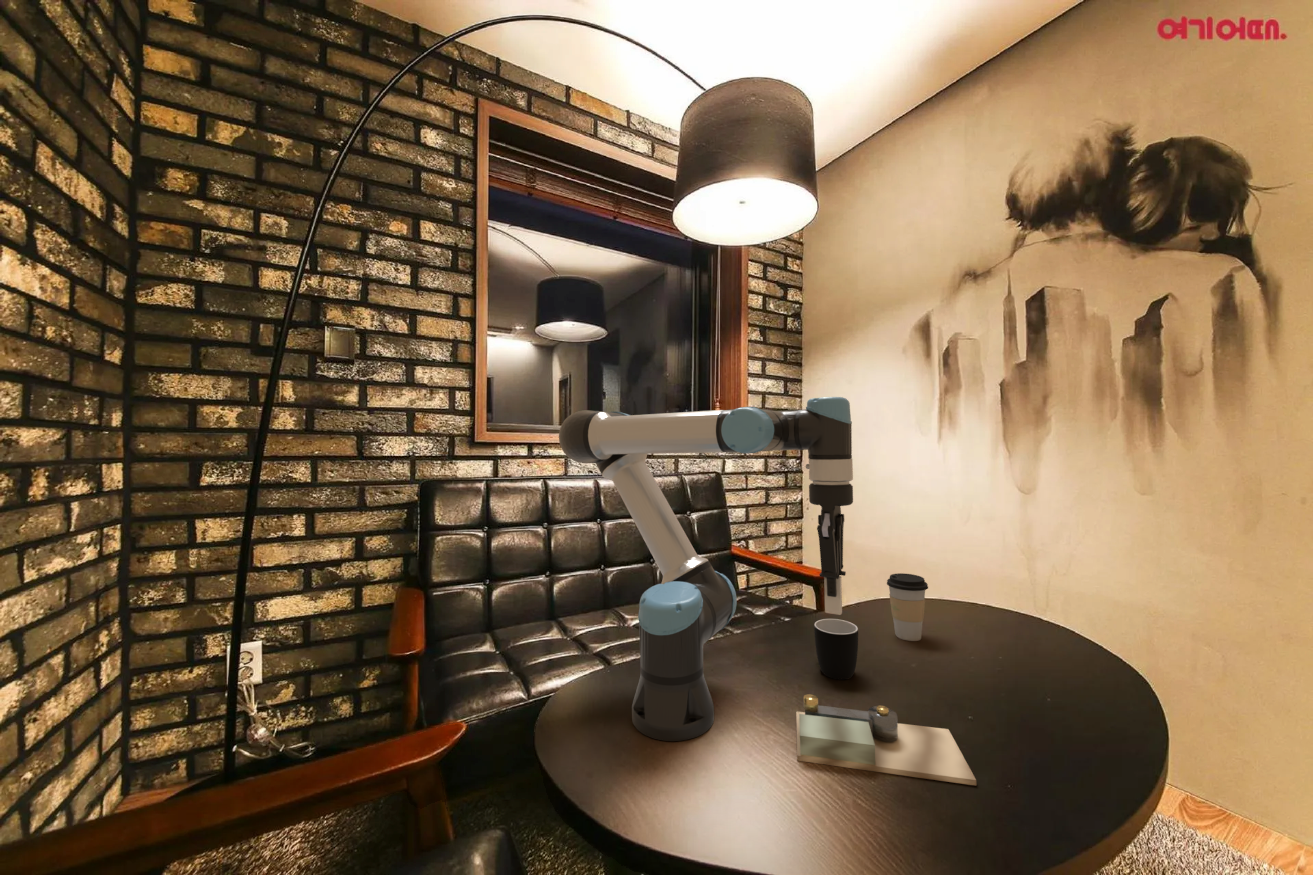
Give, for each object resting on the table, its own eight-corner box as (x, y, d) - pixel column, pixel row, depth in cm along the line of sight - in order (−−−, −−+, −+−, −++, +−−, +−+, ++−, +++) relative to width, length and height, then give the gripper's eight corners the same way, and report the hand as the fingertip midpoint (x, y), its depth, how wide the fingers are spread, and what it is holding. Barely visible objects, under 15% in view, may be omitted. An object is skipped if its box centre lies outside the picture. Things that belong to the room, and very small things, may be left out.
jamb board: (797, 760, 78) (796, 736, 78) (796, 715, 91) (795, 694, 91) (976, 785, 71) (975, 759, 71) (948, 733, 84) (947, 711, 84)
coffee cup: (879, 632, 128) (878, 574, 128) (908, 627, 131) (907, 570, 131) (908, 646, 119) (906, 584, 119) (938, 640, 122) (937, 580, 122)
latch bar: (895, 728, 84) (894, 701, 84) (900, 743, 80) (899, 715, 80) (804, 716, 88) (803, 690, 88) (804, 730, 84) (803, 703, 84)
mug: (868, 679, 103) (867, 631, 104) (830, 685, 101) (829, 636, 101) (834, 655, 115) (833, 612, 115) (800, 660, 113) (799, 616, 113)
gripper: (816, 479, 97) (819, 599, 97) (800, 485, 86) (804, 620, 86) (857, 480, 93) (860, 604, 93) (846, 486, 82) (850, 628, 82)
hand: (833, 612), depth 89 cm, fingers closed
